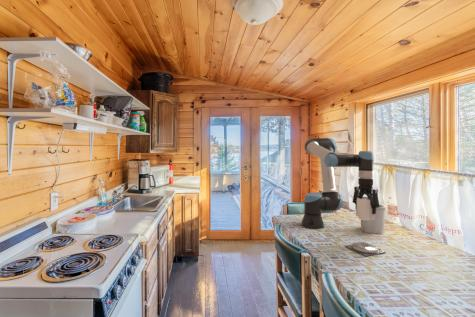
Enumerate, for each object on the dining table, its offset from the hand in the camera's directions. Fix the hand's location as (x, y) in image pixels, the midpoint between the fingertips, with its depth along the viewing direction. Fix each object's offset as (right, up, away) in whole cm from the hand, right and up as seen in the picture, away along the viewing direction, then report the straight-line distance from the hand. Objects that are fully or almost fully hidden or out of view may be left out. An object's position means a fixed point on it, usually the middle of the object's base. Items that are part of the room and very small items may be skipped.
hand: (365, 217), depth 140 cm
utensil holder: (+19, -15, +27) cm, 36 cm away
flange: (-3, -16, -6) cm, 17 cm away
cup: (0, -1, 0) cm, 1 cm away
